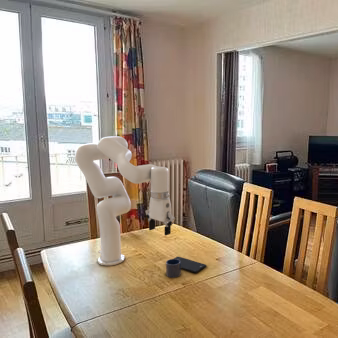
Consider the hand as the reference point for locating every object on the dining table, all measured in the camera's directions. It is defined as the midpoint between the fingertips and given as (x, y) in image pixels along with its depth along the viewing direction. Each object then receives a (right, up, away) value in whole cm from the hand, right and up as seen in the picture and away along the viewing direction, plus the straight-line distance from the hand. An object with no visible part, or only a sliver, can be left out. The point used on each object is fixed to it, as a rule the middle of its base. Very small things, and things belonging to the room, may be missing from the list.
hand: (159, 232), depth 146 cm
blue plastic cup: (+6, -20, +4) cm, 21 cm away
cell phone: (+10, -19, +13) cm, 25 cm away
